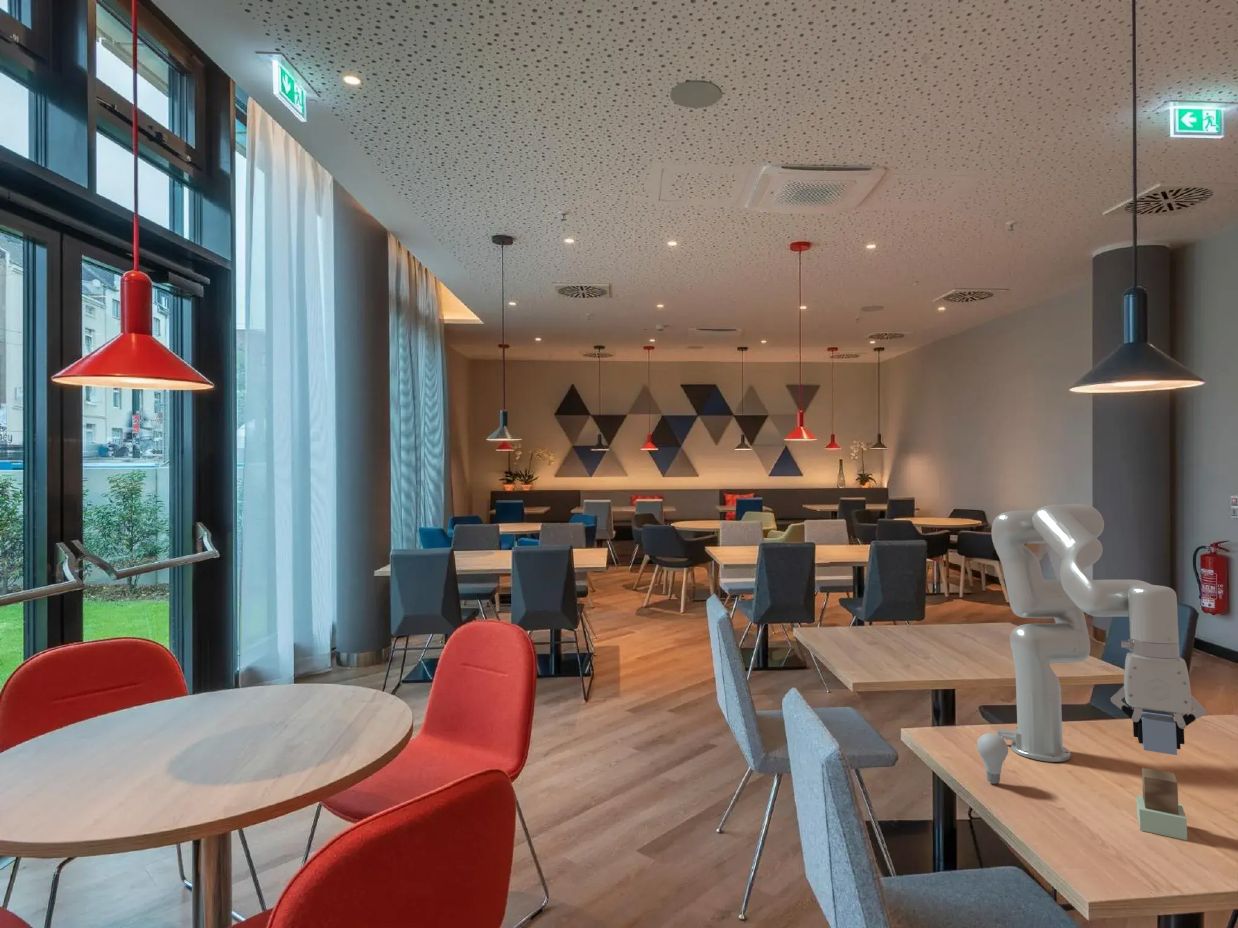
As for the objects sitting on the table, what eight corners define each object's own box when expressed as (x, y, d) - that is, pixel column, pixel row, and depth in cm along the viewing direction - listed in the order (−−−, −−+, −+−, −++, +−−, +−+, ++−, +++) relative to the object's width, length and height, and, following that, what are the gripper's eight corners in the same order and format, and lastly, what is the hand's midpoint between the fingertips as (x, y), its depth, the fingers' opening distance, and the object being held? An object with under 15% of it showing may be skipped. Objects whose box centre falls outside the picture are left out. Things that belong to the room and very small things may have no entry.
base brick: (1140, 830, 131) (1139, 809, 131) (1137, 815, 137) (1136, 795, 137) (1187, 840, 127) (1186, 818, 127) (1182, 824, 133) (1181, 803, 133)
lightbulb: (1006, 779, 154) (1004, 730, 154) (1012, 791, 148) (1010, 739, 149) (976, 776, 156) (974, 727, 156) (980, 787, 150) (979, 736, 151)
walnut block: (1145, 808, 132) (1144, 776, 132) (1143, 798, 136) (1141, 767, 136) (1178, 814, 129) (1177, 782, 129) (1175, 804, 133) (1174, 773, 133)
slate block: (1143, 749, 132) (1142, 718, 132) (1141, 741, 136) (1140, 711, 136) (1177, 755, 129) (1175, 722, 129) (1173, 746, 133) (1172, 715, 133)
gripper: (1101, 648, 135) (1105, 741, 134) (1215, 658, 125) (1220, 759, 125) (1100, 640, 141) (1104, 730, 140) (1208, 650, 132) (1213, 746, 131)
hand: (1158, 743), depth 132 cm, fingers closed on slate block, 5 cm apart
